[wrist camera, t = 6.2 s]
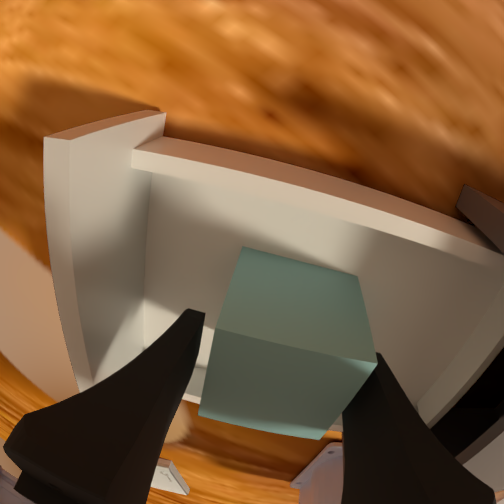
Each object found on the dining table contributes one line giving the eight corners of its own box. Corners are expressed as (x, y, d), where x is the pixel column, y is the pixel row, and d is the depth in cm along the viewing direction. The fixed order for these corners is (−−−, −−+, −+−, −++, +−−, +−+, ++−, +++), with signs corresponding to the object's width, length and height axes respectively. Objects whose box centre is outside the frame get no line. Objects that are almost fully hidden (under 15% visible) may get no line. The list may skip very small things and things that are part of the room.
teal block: (318, 355, 14) (319, 440, 10) (222, 332, 14) (197, 415, 10) (357, 276, 12) (377, 363, 8) (242, 246, 12) (215, 327, 8)
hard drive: (168, 469, 24) (62, 438, 25) (188, 496, 28) (93, 470, 29) (173, 455, 25) (68, 427, 27) (191, 484, 29) (98, 460, 31)
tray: (407, 413, 17) (420, 490, 12) (135, 355, 17) (94, 434, 12) (530, 230, 10) (602, 302, 6) (146, 109, 11) (43, 136, 6)
